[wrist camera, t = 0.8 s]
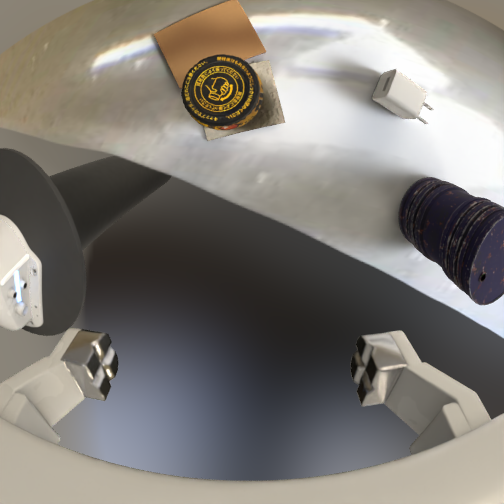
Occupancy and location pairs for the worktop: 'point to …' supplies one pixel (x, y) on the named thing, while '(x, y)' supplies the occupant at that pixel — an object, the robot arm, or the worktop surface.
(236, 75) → the condiment
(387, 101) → the usb wall charger
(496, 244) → the storage jar
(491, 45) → the worktop surface
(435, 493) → the robot arm
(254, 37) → the copper flat rectangular plate
